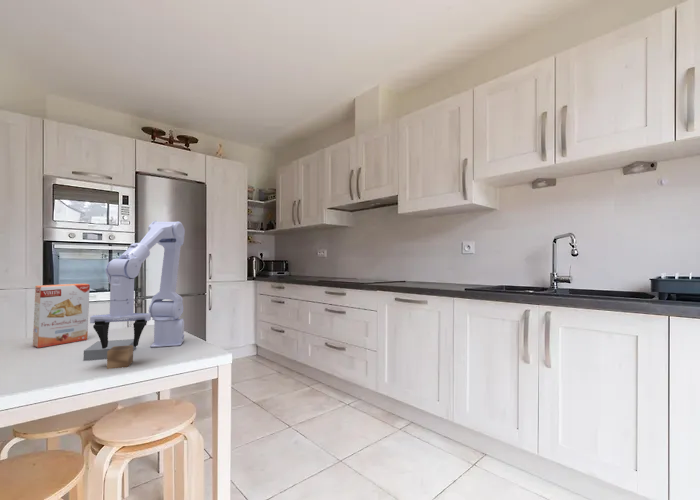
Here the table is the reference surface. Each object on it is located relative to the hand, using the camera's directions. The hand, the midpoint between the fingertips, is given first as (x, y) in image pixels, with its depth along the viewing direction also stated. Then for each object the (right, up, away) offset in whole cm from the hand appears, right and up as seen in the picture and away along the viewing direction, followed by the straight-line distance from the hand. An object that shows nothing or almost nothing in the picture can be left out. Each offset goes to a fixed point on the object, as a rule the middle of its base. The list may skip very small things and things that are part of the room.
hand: (120, 346), depth 95 cm
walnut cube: (0, -6, 0) cm, 6 cm away
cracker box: (-37, -5, +22) cm, 43 cm away
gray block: (-10, -6, +10) cm, 15 cm away
